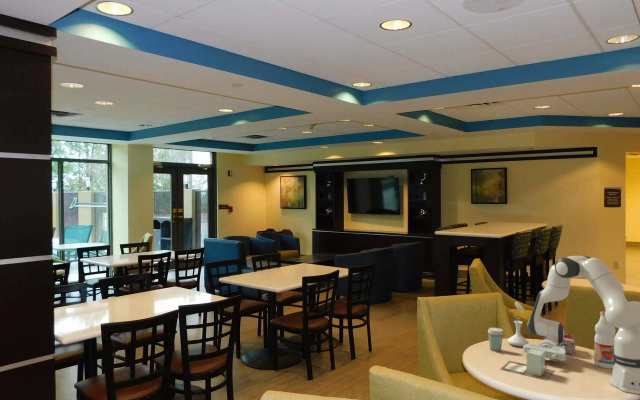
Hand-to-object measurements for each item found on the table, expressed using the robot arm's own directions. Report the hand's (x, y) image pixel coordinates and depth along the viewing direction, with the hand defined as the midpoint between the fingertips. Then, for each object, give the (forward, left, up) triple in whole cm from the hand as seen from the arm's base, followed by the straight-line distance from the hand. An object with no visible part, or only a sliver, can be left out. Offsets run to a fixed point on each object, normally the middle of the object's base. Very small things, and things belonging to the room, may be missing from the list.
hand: (540, 355), depth 236 cm
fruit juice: (-25, -26, -7) cm, 37 cm away
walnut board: (+4, +10, -6) cm, 12 cm away
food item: (-6, -38, -7) cm, 39 cm away
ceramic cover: (0, +10, -6) cm, 11 cm away
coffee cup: (+27, -13, -7) cm, 31 cm away
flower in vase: (+20, -32, -7) cm, 39 cm away
